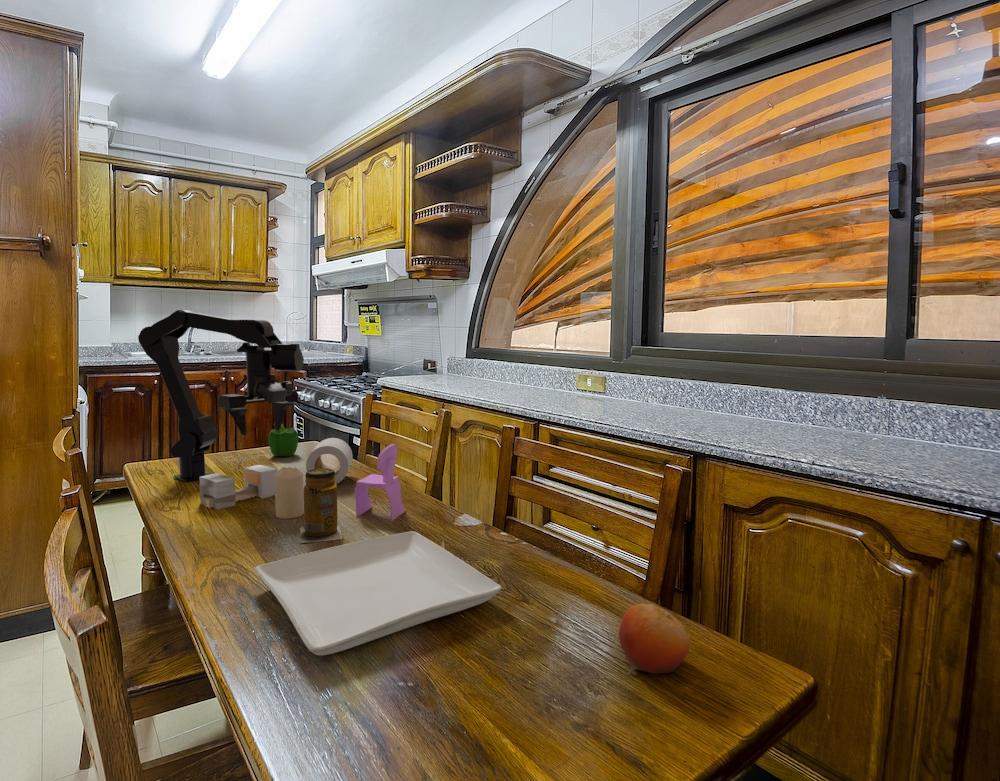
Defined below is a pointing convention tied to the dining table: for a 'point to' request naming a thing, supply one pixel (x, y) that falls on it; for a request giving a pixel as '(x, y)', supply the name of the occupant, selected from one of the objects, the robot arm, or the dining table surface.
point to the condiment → (320, 507)
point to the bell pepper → (283, 441)
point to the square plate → (372, 589)
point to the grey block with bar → (222, 491)
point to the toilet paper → (334, 448)
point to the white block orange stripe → (261, 479)
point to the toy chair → (381, 484)
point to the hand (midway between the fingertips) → (261, 432)
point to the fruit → (652, 639)
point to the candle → (289, 493)
